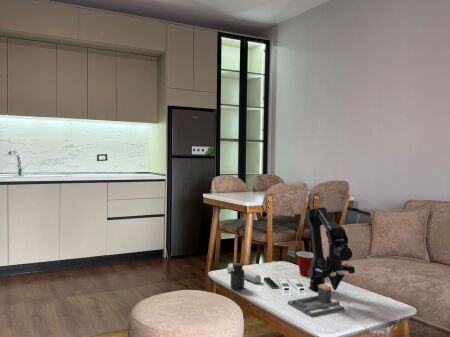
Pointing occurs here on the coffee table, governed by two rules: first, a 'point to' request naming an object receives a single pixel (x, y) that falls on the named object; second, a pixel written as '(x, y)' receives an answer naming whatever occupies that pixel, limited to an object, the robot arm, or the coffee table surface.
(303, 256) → the plastic cup
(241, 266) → the supplement bottle
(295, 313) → the coffee table surface
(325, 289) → the handle
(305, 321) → the coffee table surface
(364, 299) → the coffee table surface
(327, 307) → the panel
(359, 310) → the coffee table surface
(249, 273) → the tube
